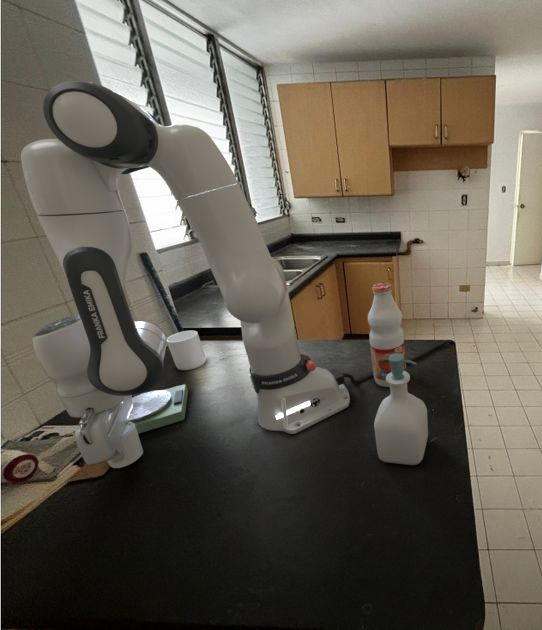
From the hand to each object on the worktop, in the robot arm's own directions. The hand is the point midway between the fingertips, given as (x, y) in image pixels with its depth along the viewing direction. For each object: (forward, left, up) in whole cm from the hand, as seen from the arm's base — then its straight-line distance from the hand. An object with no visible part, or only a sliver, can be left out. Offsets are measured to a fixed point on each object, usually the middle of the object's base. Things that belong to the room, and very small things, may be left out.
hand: (123, 449), depth 71 cm
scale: (-2, -15, -2) cm, 15 cm away
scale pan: (-2, -15, +1) cm, 15 cm away
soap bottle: (-52, +30, -2) cm, 60 cm away
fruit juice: (-61, +4, -2) cm, 61 cm away
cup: (-9, -41, -2) cm, 42 cm away
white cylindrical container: (0, 0, -2) cm, 2 cm away
